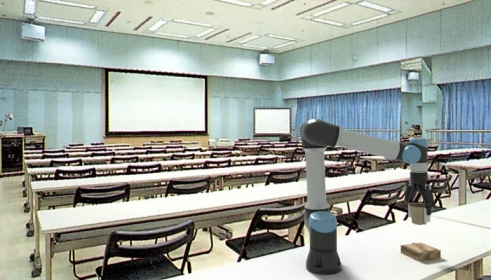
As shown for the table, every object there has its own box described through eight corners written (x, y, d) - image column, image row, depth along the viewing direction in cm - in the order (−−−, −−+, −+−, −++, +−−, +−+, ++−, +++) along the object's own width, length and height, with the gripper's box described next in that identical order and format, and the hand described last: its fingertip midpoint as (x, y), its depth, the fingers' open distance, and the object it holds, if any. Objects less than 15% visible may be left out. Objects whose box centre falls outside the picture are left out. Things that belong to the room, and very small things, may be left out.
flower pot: (432, 226, 171) (432, 207, 171) (410, 226, 173) (410, 207, 172) (427, 220, 180) (427, 203, 180) (406, 220, 182) (406, 202, 182)
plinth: (419, 261, 170) (419, 253, 169) (400, 252, 181) (400, 244, 181) (440, 257, 173) (440, 249, 173) (421, 249, 185) (421, 241, 184)
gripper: (444, 173, 166) (444, 224, 167) (408, 167, 187) (408, 212, 188) (430, 175, 164) (430, 226, 165) (395, 169, 184) (396, 214, 186)
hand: (419, 219), depth 176 cm, fingers closed on flower pot, 9 cm apart
